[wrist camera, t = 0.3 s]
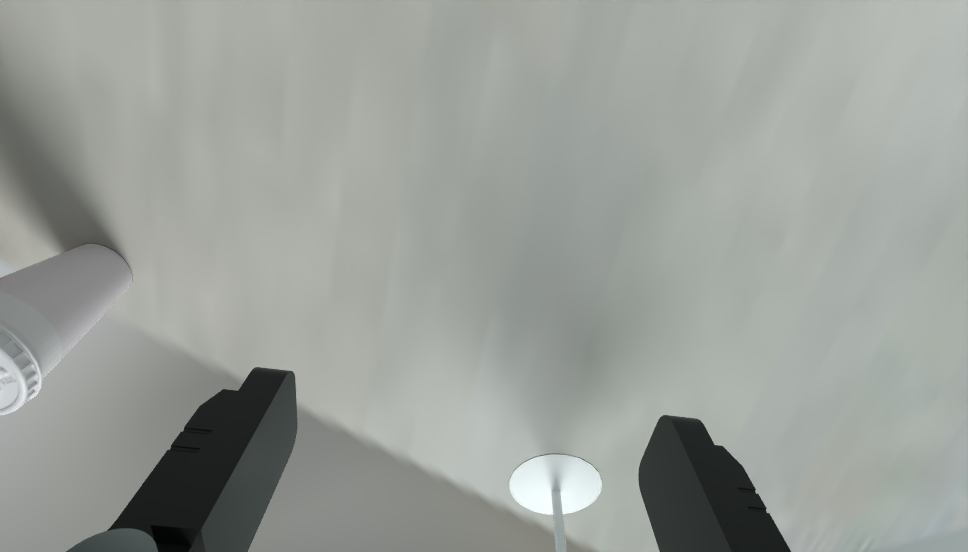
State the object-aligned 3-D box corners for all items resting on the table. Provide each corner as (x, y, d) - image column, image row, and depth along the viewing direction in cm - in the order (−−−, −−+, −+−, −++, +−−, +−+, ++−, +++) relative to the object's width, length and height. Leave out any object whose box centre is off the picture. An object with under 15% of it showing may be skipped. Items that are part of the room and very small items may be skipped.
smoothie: (78, 203, 29) (-231, 351, 17) (172, 275, 31) (-41, 451, 19) (33, 264, 31) (-269, 432, 19) (124, 326, 34) (-95, 513, 21)
